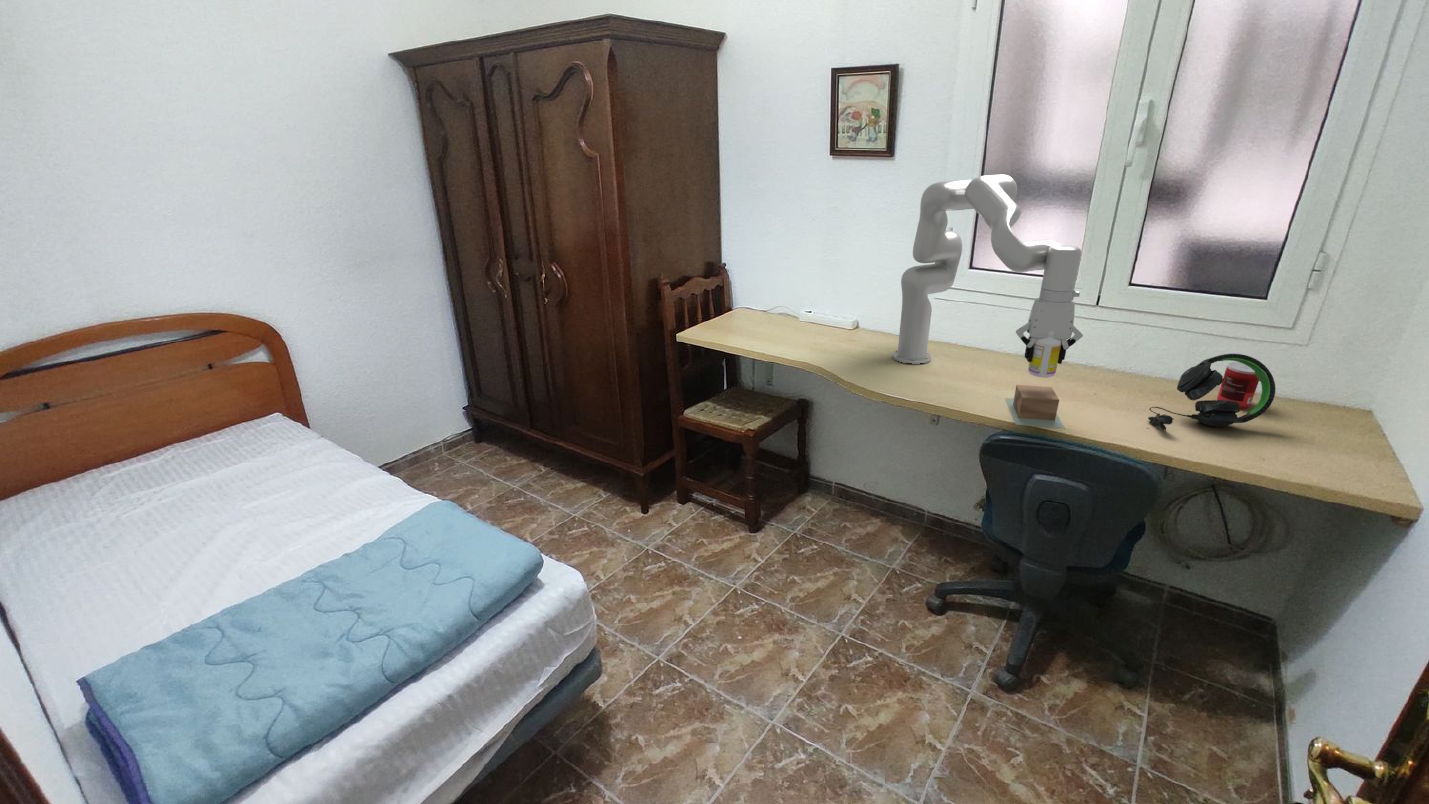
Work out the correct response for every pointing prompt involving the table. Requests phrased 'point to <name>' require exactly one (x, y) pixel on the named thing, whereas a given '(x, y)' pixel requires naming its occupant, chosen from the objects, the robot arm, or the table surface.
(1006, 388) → the table surface
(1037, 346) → the supplement bottle
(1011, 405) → the felt pad
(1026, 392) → the walnut block
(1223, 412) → the headset
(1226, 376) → the canned food
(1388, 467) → the table surface
